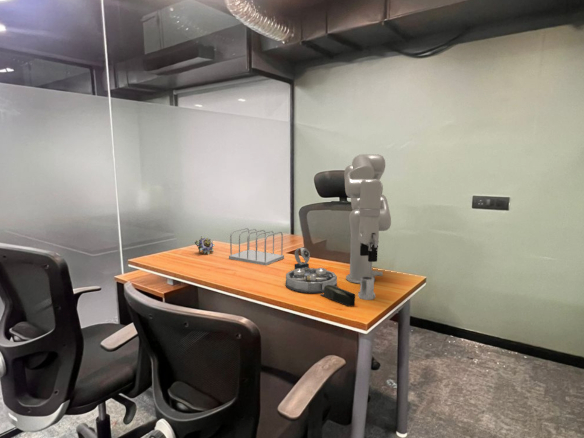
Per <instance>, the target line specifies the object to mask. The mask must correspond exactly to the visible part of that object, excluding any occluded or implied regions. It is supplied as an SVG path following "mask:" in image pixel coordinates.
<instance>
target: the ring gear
mask: <svg viewBox="0 0 584 438" xmlns="http://www.w3.org/2000/svg"><path fill="white" fill-rule="evenodd" d="M302 269H304V270H305V276H308V275H310V274H316V269H317V268H315V267H313V268H312V267H311V268H310V267H309V268H302ZM326 270H327V269H326ZM326 275H327V276H328V279H331V280H327V281H323V282H303V281H297V280H295V279H292V276H294V269H292V270H290V271H288V272H287V273H286V274H285V283H286V282H287V285H288V286H291V287H293V288H295V289H301V290H307V291H313V290H324V287H325V286H326V285H333V286H335V285H336V284H337V285H338V276H337V275H336V274H335V272H334V271H330V270H327V272H326Z"/></svg>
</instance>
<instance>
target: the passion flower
mask: <svg viewBox="0 0 584 438" xmlns="http://www.w3.org/2000/svg"><path fill="white" fill-rule="evenodd" d="M194 244H195V245H196V247H197V248H198V251H199V253H200V252H201V251H202V253H203V254H204V255H205V254H207V255H208V254H209V255H210V252H214V247H215V246H216V245H215V243H214V242H213V241H212V240H211V239H209V237H204V236H200V239H199V240H195V242H194Z"/></svg>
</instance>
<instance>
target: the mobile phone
mask: <svg viewBox="0 0 584 438" xmlns="http://www.w3.org/2000/svg"><path fill="white" fill-rule="evenodd" d="M319 294H320V296H321V297H324V298H327V299H330V300H331V301H335V302H337V303H340V304H342V305H344V306H346V307H353V306H355V305H356V303H355V302H356V293H354V292H352V291H348V290H346V289H344V288H340V287H339V286H337V287H336V286H333V285H326V286H325V287H324V293H319Z"/></svg>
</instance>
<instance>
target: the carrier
mask: <svg viewBox="0 0 584 438" xmlns="http://www.w3.org/2000/svg"><path fill="white" fill-rule="evenodd" d="M293 270H294V276H292V279H295V280H297V281H303V282H323V281H327V280H331V279H328V276H327V275H326V272H327V269H326V268H325V267H318V268H316V274H310V275H308V276H305V270H304V269H301V268H297V269H295V268H294V269H293ZM337 285H338V283H337V284H336V285H335V286H336V287H338V286H337ZM285 288H286V289H288V290H290V291H293V292H295V293H300V294H309V295H312V294H314V295H315V294H316V295H317V294H324V290H313V291H307V290H301V289H295V288H293V287H291V286H288V285H287V282H286V281H285Z"/></svg>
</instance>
